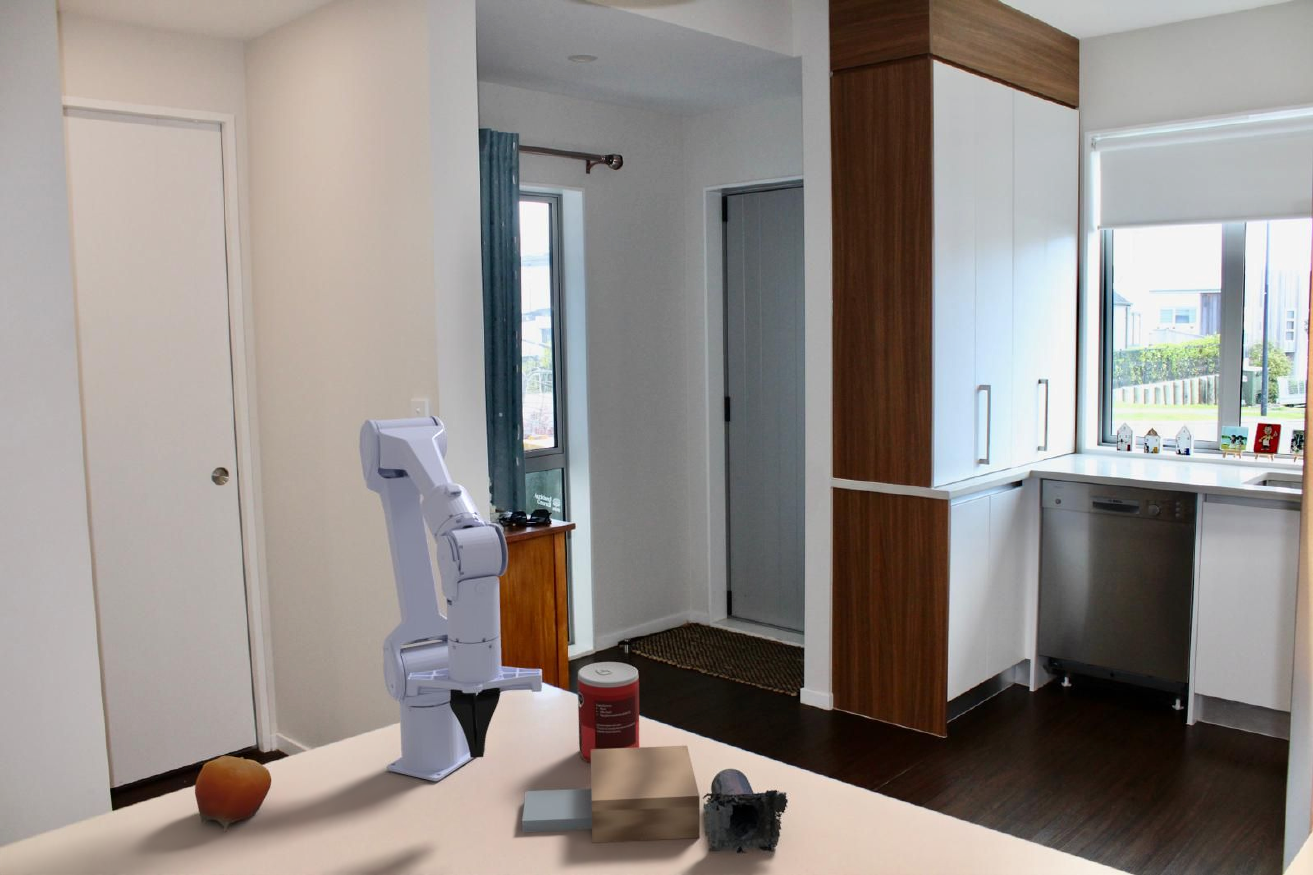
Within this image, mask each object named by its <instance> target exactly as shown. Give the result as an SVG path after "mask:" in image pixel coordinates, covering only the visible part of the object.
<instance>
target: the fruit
mask: <svg viewBox="0 0 1313 875" xmlns="http://www.w3.org/2000/svg"><path fill="white" fill-rule="evenodd" d="M271 785H272V776H271V773H270V771H269V769H267V767H266V766H264V765H263V764H262V763H260V762H257V761H256V760H253V759H250V758H249V759H245V758H244V756H241V757H235V756H231V755H221V756H220V757H217V758H216V759H212V760H211V761H208V762H205V763H204V764H203V765H202V769H201V770H200V772H199V774H198V775H197V778H196V781H195V787H194V794H195V800H196V805H197V809H198V814H199V816H200V820H201V823H203V822H206V821H208V820H209V821H210V820H215V821H217V822H219V823H220V825H222V826H223V832H224V833H226V832H227V828H228V827H229V825H230V824H232V823H234V822H236V821H240V820H246V819H248V818H250V817H252V816H253V815H255V814H256V813H257V812H258V811H259V810H260V808H261V807H262V804H263V803H264V801H265V800H266V797H267V795H268V793H269V791H270V789H271V788H272V787H271Z"/></svg>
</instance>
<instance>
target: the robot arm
mask: <svg viewBox="0 0 1313 875" xmlns="http://www.w3.org/2000/svg"><path fill="white" fill-rule="evenodd" d="M445 427H446V426H445V424H444V423H443V421H442V420H441V419H440V418H439V417H438V415H437V416H436V415H430V416H427V417H411V418H410V417H408V418H397V419H396V418H395V419H393V418H391V419H380V420H379V419H375V420H374V419H370V418H369V419H366V420H365V421H364V422H363V423H362V425H361V427H360V430H359V455H360V462H361V467H362V474H363V479H364V481H365V484H366V488H367V489H368V490H370V491H372V492H375V493H377V494H379V497H380V501H381V504H382V508H383V513H384V518H385V524H386V530H387V531H386V532H387V536H388V537H387V538H388V543H389V548H390V549H389V551H390V555H391V563H392V568H393V574H394V576H393V577H394V580H395V582H394V583H395V586H396V587H395V588H396V594H397V600H398V606H399V612H400V619H401V621H400V623H399V624H398V625H397V626H396V627H395V628H393V630H391V632H390V633H389V634H388V635H387V636H386V637H385V639H384V641H383V644H382V645H383V646H382V653H383V663H382V666H383V679H384V684H385V688H386V691H387V693H388V695H389V697H390V698H392V699H393V700H394V701H396V702H399V703H398V704H399V719H400V721H399V725H400V746H401V748H400V749H401V757H399V758H398V759H396V760H394V761H393V762H391V763H390V764H388V765H387V766H386V770H387V771H390V772H395V773H398V774H402V775H406V776H407V775H408V776H410V777H411V776H412V777H415V778H420V779H425V780H429V781H432V782H438V781H440V780H442V779H443V778H445V777H446V776H448V775H449V774H451V773H452V772H455V771H456V770H457V769H458V768H460V767H461V766H463V765H465V764H467V763H468V762H469V761H472V760H473V759H474V758H484V755H485V752H486V751H485V750H486V748H485V747H486V739H487V733H488V729H489V727H490V723H491V721H492V718H493V715H494V713H495V712H496V709H497V707H498V705H499V702H500V696H501V693H502V692H504V691H526V690H527V691H531V692H534V693H535V692H537V693H540V692H542V689H543V670H542V669H541V668H523V667H513V666H503V665H502V646H501V644H502V642H501V640H502V638H501V637H502V636H501V608H500V607H501V606H500V604H501V603H500V602H501V600H500V578H499V577H501V576H503V575H505V573H506V571H507V569H508V568H507V567H508V562H509V552H508V545H507V541H506V537H505V533H504V532H503V531H502V530H503V529H502V528H501V526H500V525H499V524H498V523H494V522H493V523H492V521H490V520H489V519H488V520H485V519H483V517H482V514H481V512H479V509H478V508H477V506H476V504H475V503H474V501H473V499H472V498H471V496H470V493H469V492H468V490H467V489H466V488H465V487H464V486H463V485H461V484H458V483H454V482H453V481H452V477H451V476H450V473H449V471H448V468H447V465H446V463H445V457H446V454H447V449H448V437H447V431H446V428H445ZM421 495H422V497H423V499H421ZM426 525H427V527H428V530H429V532H430V533H431V535H432V537H433V539H434V541H435V544H436V560H437V561H436V562H437V567H438V571H439V575H440V581H441V582H440V584H441V591H442V595H443V596H444V597H445V598H446V599H445V600H446V616H444V615H443V614H441V611H440V606H439V599H438V594H437V586H436V583H435V576H434V569H433V564H432V557H431V554H430V546H429V542H428V535H427V534H428V533H427V528H426ZM430 641H431V643H426V642H430ZM432 641H436V642H432ZM420 643H424V644H420ZM414 644H419V645H414ZM408 645H413V646H408ZM403 646H407V647H403Z"/></svg>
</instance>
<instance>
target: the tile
mask: <svg viewBox="0 0 1313 875" xmlns="http://www.w3.org/2000/svg"><path fill="white" fill-rule="evenodd" d="M521 824H522V827H521V828H522V830H521V831H522V833H533V832H550V831H551V832H552V831H553V832H554V831H577V830H581V831H582V830H592V793H591V788H573V789H572V788H571V789H570V788H569V789H551V790H550V789H549V790H547V789H546V790H544V789H543V790H527V791H525V798H524V806H523V813H522V819H521Z"/></svg>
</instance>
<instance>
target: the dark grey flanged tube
mask: <svg viewBox="0 0 1313 875" xmlns="http://www.w3.org/2000/svg"><path fill="white" fill-rule="evenodd" d="M710 785H711V786H710V791H711V793H709V792H708V793H706V794H705V795H704V796H702V799H703V800H704V799H706V798H707V799H706V803H703V807H702V808H703V810H704V812H703V814H704V815H703V816H704V829H705V831H704V833H705V837H707V842H708V843H709V847H708V851H712V850H714V851H718V850H719V851H720V850H721V851H724V850H728V851H729V850H730V851H734V850H736V853H737V854H739V853H744V854H747V852H746V851H745V850H750V849H751V851H752V852H754V851H753V850H752V849H756V848H757V851H764V850H768V851H770V852H773V851H774V850H775V848H776V847H777V846H778V844H779V840H780V837H781V832H780V830H782V827H781V824H782V821H781V818H782V816H783V814H784V813H786V809H787V808H788V805H787V804H788V803H789V799H788V798H787V792H786V791H784V792H782V791H779V790H777V789H773V790H772V789H771V790H766V791H765V792H757V793H755V792H754V791H753V789H752V787H751V784H750V782H749V780H748V777H747V775H745V773H744V772H742V771H740V770H738V769H735V768H725V769H722V770H721V771H719V772H718V773H716V775H715V776H714V778H713V779H712V782H711V784H710ZM733 806H734V807H733ZM734 809H737V810H736V813H735V814H733V813H734ZM706 812H707V813H706Z"/></svg>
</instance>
